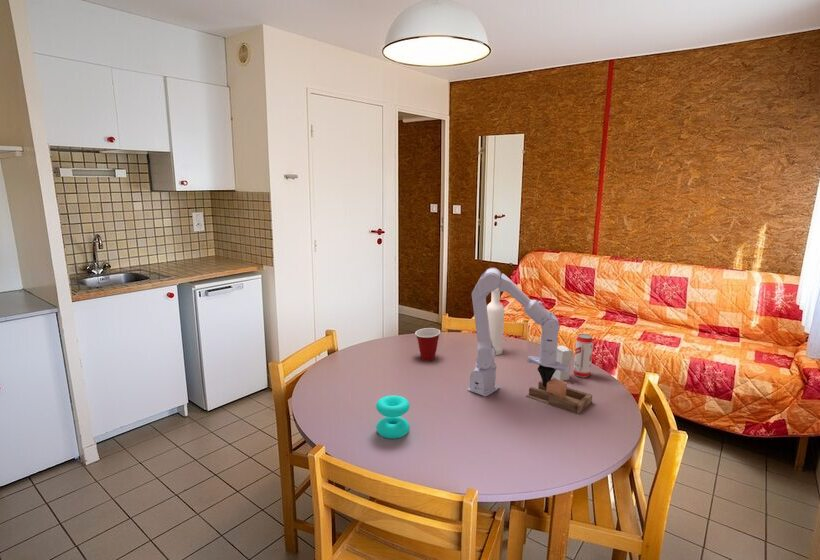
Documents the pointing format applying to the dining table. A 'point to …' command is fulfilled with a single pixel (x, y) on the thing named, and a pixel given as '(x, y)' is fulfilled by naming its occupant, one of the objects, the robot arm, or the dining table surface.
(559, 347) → the skincare box
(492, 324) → the bottle
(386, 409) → the donuts
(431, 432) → the dining table surface
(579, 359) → the beer can
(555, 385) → the block
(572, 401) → the chute
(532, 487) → the dining table surface
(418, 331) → the plastic cup
